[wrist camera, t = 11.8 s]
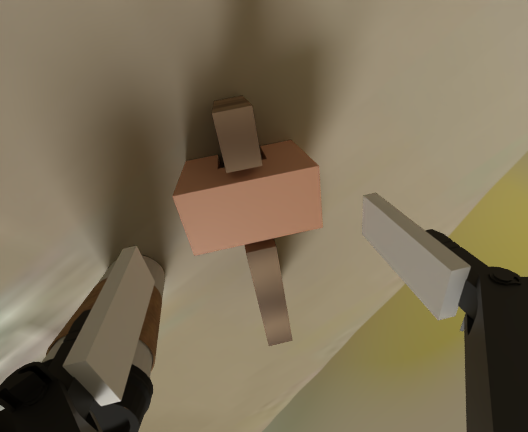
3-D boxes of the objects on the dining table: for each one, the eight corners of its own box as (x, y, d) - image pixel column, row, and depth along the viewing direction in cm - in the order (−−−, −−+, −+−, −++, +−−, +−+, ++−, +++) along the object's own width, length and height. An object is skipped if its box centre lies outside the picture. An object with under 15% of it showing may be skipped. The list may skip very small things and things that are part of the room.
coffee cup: (141, 230, 27) (68, 378, 14) (191, 281, 31) (171, 432, 18) (77, 269, 28) (-48, 440, 15) (134, 313, 32) (75, 478, 19)
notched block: (200, 208, 27) (194, 255, 20) (185, 161, 24) (172, 196, 17) (296, 188, 27) (322, 227, 20) (291, 139, 25) (319, 165, 18)
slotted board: (214, 100, 22) (211, 113, 15) (241, 95, 22) (252, 105, 15) (258, 288, 33) (268, 346, 26) (277, 284, 33) (292, 340, 26)
